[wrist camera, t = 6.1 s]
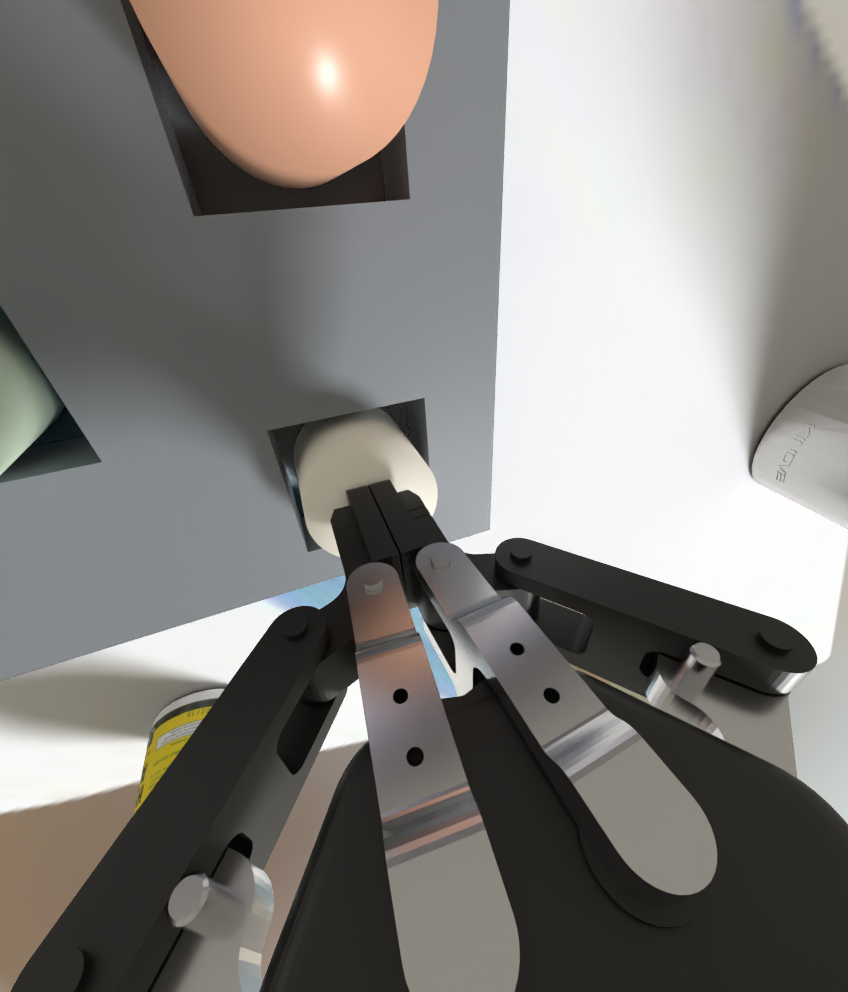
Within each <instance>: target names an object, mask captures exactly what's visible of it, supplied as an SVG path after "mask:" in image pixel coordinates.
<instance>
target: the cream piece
mask: <svg viewBox="0 0 848 992" xmlns="http://www.w3.org/2000/svg"><path fill="white" fill-rule="evenodd" d="M294 463H295V469H296V474H297V479H298V485H299V490H300V495H301V501H302V506H303V511H304V517H305V521H306V526H307V529H308V531H309V533H310V535H311V536H312V538H313V540H314V541H315V542H316V543H317V544H318V545H319V546H320V547H322V548H323V549H324V550H326V551H327V552H329V553H331V554H333V555H335V556H338V557H340V555H339V551H338V547H337V544H336V540H335V536H334V533H333V529H332V525H331V522H330V520H331V517H332V514H333V511H334V509H337V508H341V507H345V506H349V505H348V501H347V496H346V490H350V489H354V488H358V487H361V486H365V485H367V486H368V485H369V484H373V483H377V482H380V481H384V480H388V479H390V481H391V482H392V484H393V486H394V488H395V490H396V491H397V492H400V491H404V490H410V491H412V492H413V493H415V494H417V495H418V496H419V497H420V498H421V500H422V501H423V503H424V505H425V507H426V508H427V509H428V511H429V512H430V515H431V516H433V514H434V511H435V508H436V505H437V498H438V490H437V483H436V480H435V477H434V475H433V473H432V471H431V470H430V468H429V467H428V465H427V464H426V463H425V461H424V460H423V459H422V457H421V456H420V455H419V453H418V452H417V451H416V449H415V448H414V446H413V445H412V444H411V442H410V441H409V440H408V438H407V437H406V436H405V434H404V433H403V432H402V430H401V429H400V428H399V426H398V425H397V424H396V422H395V421H394V420H393V418H392V417H391V416H390V415H389V414H387V413H386V412H385V411H383V410H382V409H380V408H374V409H369V410H364V411H359V412H354V413H350V414H345V415H340V416H335V417H331V418H326V419H321V420H316V421H312V422H307V423H306V424H305V425H304V426H303V428H302V429H301V431H300V433H299V435H298V437H297V440H296V443H295V447H294Z"/></svg>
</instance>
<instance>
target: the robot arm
mask: <svg viewBox="0 0 848 992" xmlns="http://www.w3.org/2000/svg"><path fill="white" fill-rule="evenodd" d="M752 475H753V478H754V480H755V481H756V482H757V483H759V484H761V485H763V486H764V487H766V488H768V489H770V490H772V491H774V492H776V493H778V494H780V495H782V496H784V497H786V498H788V499H790V500H792V501H794V502H796V503H798V504H800V505H802V506H804V507H806V508H808V509H810V510H812V511H814V512H815V513H817V514H819V515H821V516H823V517H825V518H827V519H829V520H831V521H833V522H835V523H837V524H839V525H841V526H843V527H845V528H847V529H848V364H846V365H842V366H838V367H836V368H834V369H831V370H829V371H827V372H825V373H824V374H822V375H821V376H819V377H818V378H816V379H815V380H813V381H812V382H811V383H810V384H808V385H807V386H806V387H805V388H804V389H802V390H801V391H800V392H799V393H798V394H797V395H796V396H795V397H794V398H793V399H792V400H791V401H790V402H789V403H788V404H787V405H786V406H785V408H784V409H783V410H782V411H781V412H780V413H779V415H778V416H777V417H776V418H775V420H774V421H773V423H772V424H771V425H770V427H769V428H768V430H767V431H766V433H765V435H764V437H763V438H762V440H761V442H760V444H759V446H758V448H757V451H756V453H755V455H754V459H753V464H752ZM346 496H347V501H348V505H349V506H345V507H341V508H337V509H334V511H333V514H332V517H331V520H330V522H331V525H332V529H333V533H334V536H335V540H336V544H337V547H338V551H339V555H340V558H341V562H342V565H343V569H344V573H345V576H346V582H345V586H344V588H343V590H342V592H341V593H340V594H339V596H338V597H337V598H336V599H335V600H333V601H332V602H331V603H329V604H328V605H326V606H325V607H323V608H321V609H320V610H319V609H317V608H314V607H311V606H299V607H295V608H292V609H290V610H287V611H286V612H284V613H282V614H281V615H280V616H279V617H277V618H276V619H275V620H274V622H273V623H272V624H271V626H270V627H269V628H268V630H267V631H266V633H265V634H264V635H263V637H262V638H261V639H260V641H259V642H258V644H257V645H256V646H255V648H254V649H253V651H252V652H251V653H250V655H249V656H248V657H247V659H246V660H245V662H244V663H243V664H242V666H241V667H240V669H239V670H238V671H237V673H236V674H235V675H234V677H233V678H232V680H231V681H230V682H229V684H228V685H227V687H226V688H225V689H224V691H223V692H222V694H221V695H220V696H219V698H218V699H217V700H216V702H215V703H214V705H213V706H212V707H211V709H210V710H209V712H208V713H207V714H206V716H205V717H204V718H203V720H202V721H201V723H200V724H199V725H198V727H197V728H196V730H195V731H194V732H193V734H192V735H191V736H190V738H189V739H188V741H187V742H186V743H185V745H184V746H183V748H182V749H181V750H180V752H179V753H178V754H177V756H176V757H175V759H174V760H173V761H172V763H171V764H170V766H169V767H168V768H167V770H166V771H165V773H164V774H163V775H162V777H161V778H160V779H159V781H158V782H157V784H156V785H155V786H154V788H153V789H152V791H151V792H150V793H149V795H148V796H147V797H146V799H145V800H144V802H143V803H142V804H141V806H140V807H139V809H138V810H137V811H136V813H135V814H134V816H133V817H132V818H131V820H130V821H129V823H128V824H127V825H126V827H125V828H124V829H123V831H122V832H121V834H120V835H119V836H118V838H117V839H116V840H115V842H114V843H113V845H112V846H111V847H110V849H109V850H108V852H107V853H106V854H105V856H104V857H103V858H102V860H101V861H100V863H99V864H98V865H97V867H96V868H95V870H94V871H93V872H92V874H91V875H90V876H89V878H88V879H87V881H86V882H85V883H84V885H83V886H82V888H81V889H80V890H79V892H78V893H77V895H76V896H75V897H74V899H73V900H72V902H71V903H70V904H69V906H68V907H67V908H66V910H65V911H64V913H63V914H62V915H61V917H60V918H59V919H58V921H57V922H56V924H55V925H54V927H53V928H52V929H51V931H50V932H49V933H48V935H47V936H46V938H45V939H44V940H43V942H42V943H41V945H40V946H39V947H38V949H37V950H36V952H35V953H34V954H33V955H32V957H31V958H30V960H29V961H28V963H27V964H26V966H25V967H24V969H23V970H22V972H21V974H20V975H19V977H18V979H17V981H16V983H15V984H14V986H13V988H12V990H11V992H848V824H847V823H846V822H845V821H844V819H843V818H842V817H841V816H840V815H839V814H838V813H837V812H836V811H835V810H834V809H833V808H832V807H831V806H830V805H829V804H828V803H827V802H826V801H825V800H824V799H823V798H822V797H821V796H819V795H818V794H817V793H816V792H815V791H814V790H812V789H811V788H810V787H808V786H807V785H806V784H804V783H803V782H802V781H801V780H799V779H798V778H797V773H796V764H795V755H794V746H793V737H792V729H791V720H790V712H789V702H788V695H789V694H790V693H791V691H792V690H793V689H794V688H795V687H796V686H797V685H798V684H799V683H800V682H801V681H802V680H803V679H804V678H805V677H806V676H807V675H808V674H809V673H810V672H811V670H812V669H813V668H814V667H815V666H816V664H817V655H816V652H815V650H814V648H813V647H812V645H811V644H810V642H809V641H808V640H807V639H806V638H805V637H804V636H803V635H802V634H801V633H799V632H798V631H797V630H795V629H794V628H792V627H791V626H789V625H788V624H786V623H784V622H782V621H780V620H777V619H775V618H772V617H769V616H766V615H763V614H759V613H756V612H753V611H750V610H747V609H744V608H741V607H738V606H735V605H731V604H728V603H725V602H722V601H719V600H716V599H713V598H710V597H706V596H703V595H700V594H697V593H694V592H691V591H688V590H685V589H682V588H678V587H675V586H672V585H669V584H666V583H663V582H660V581H657V580H653V579H650V578H647V577H644V576H641V575H638V574H635V573H632V572H629V571H625V570H622V569H619V568H616V567H613V566H610V565H607V564H604V563H601V562H597V561H594V560H591V559H588V558H585V557H582V556H579V555H576V554H572V553H569V552H566V551H563V550H560V549H557V548H554V547H551V546H548V545H544V544H541V543H538V542H535V541H532V540H529V539H524V538H512V539H508V540H505V541H504V542H502V543H501V544H499V546H498V547H497V549H496V552H495V554H467V553H464V552H463V551H462V550H461V549H460V548H459V547H458V546H456V545H454V544H451V543H449V542H448V541H447V539H446V538H445V536H444V534H443V533H442V531H441V530H440V528H439V527H438V525H437V523H436V522H435V520H434V519H433V517H432V516H431V515H430V512H429V511H428V509H427V508H426V507H425V505H424V503H423V501H422V500H421V498H420V497H419V496H418V495H417V494H415V493H413V492H412V491H410V490H404V491H400V492H397V491H396V490H395V488H394V486H393V484H392V482H391V481H390V479H388V480H384V481H380V482H377V483H373V484H369V485H368V486H367V485H365V486H361V487H358V488H354V489H350V490H346ZM541 597H542V598H545V599H548V600H550V601H553V602H555V603H558V604H561V605H563V606H566V607H568V608H571V609H574V610H576V611H579V612H581V613H583V614H585V615H587V616H585V615H582V614H579V613H577V612H574V611H572V610H569V609H566V608H564V607H561V606H559V605H556V604H553V603H551V602H548V601H546V600H543V599H541ZM417 606H418V608H419V610H420V612H421V614H422V621H423V627H424V629H425V631H426V633H427V635H428V637H429V639H430V641H431V642H432V644H433V646H434V648H435V650H436V652H437V654H438V655H439V657H440V659H441V661H442V663H443V665H444V666H445V668H446V670H447V672H448V674H449V676H450V677H451V679H452V681H453V684H454V686H455V689H456V692H457V696H458V697H452V698H444V699H441V698H440V695H439V692H438V688H437V685H436V682H435V679H434V676H433V673H432V670H431V667H430V664H429V661H428V658H427V654H426V651H425V648H424V645H423V642H422V639H421V637H420V635H419V633H417V632H416V629H415V626H414V623H413V620H412V617H411V614H410V611H409V609H411V608H414V607H417ZM408 607H409V608H408ZM569 663H570V664H572V665H574V666H576V667H579V668H581V669H583V670H585V671H588V672H590V673H592V674H594V675H596V676H599V677H601V678H603V679H605V680H608V681H610V682H612V683H614V684H617V685H619V686H621V687H623V688H625V689H628V690H630V691H632V692H634V693H637V694H639V695H641V696H643V697H646V698H648V700H649V703H650V704H651V705H650V704H648V703H646V702H644V701H642V700H640V699H638V698H636V697H634V696H632V695H630V694H627V693H625V692H623V691H621V690H619V689H617V688H615V687H613V686H611V685H609V684H607V683H605V682H603V681H601V680H599V679H597V678H595V677H592V676H590V675H588V674H586V673H583V672H581V671H578V670H575V669H573V668H572V666H571V665H570V664H569ZM357 679H359V682H360V688H361V695H362V701H363V707H364V714H365V720H366V726H367V733H368V739H369V740H368V741H367V742H366V743H365V744H364V745H363V746H362V747H361V749H360V750H359V751H358V752H357V753H356V755H355V756H354V757H353V759H352V760H351V761H350V763H349V764H348V766H347V768H346V769H345V771H344V773H343V775H342V777H341V779H340V781H339V783H338V785H337V788H336V790H335V793H334V795H333V798H332V800H331V803H330V806H329V808H328V811H327V814H326V817H325V819H324V822H323V824H322V827H321V829H320V832H319V835H318V837H317V840H316V843H315V845H314V848H313V851H312V853H311V856H310V859H309V861H308V864H307V867H306V869H305V872H304V875H303V877H302V880H301V882H300V885H299V888H298V890H297V893H296V895H295V898H294V901H293V903H292V906H291V909H290V912H289V914H288V917H287V919H286V922H285V924H284V927H283V930H282V932H281V935H280V938H279V940H278V943H277V946H276V948H275V951H274V953H273V956H272V959H271V961H270V964H269V967H268V969H267V972H266V974H265V977H264V980H263V982H262V981H261V959H262V952H263V947H264V942H265V940H266V936H267V933H268V930H269V927H270V924H271V920H272V915H273V907H274V894H273V888H272V885H271V882H270V880H269V878H268V876H267V874H266V873H265V872H264V871H263V870H264V868H265V865H266V863H267V861H268V859H269V857H270V855H271V853H272V851H273V849H274V846H275V844H276V842H277V840H278V838H279V836H280V833H281V832H282V829H283V827H284V825H285V823H286V821H287V819H288V817H289V814H290V812H291V810H292V808H293V806H294V804H295V802H296V800H297V797H298V795H299V793H300V791H301V789H302V787H303V785H304V782H305V780H306V778H307V776H308V774H309V772H310V770H311V768H312V766H313V763H314V761H315V759H316V757H317V755H318V753H319V751H320V749H321V746H322V744H323V742H324V740H325V738H326V736H327V734H328V732H329V729H330V727H331V725H332V723H333V721H334V719H335V717H336V715H337V712H338V710H339V708H340V706H341V704H342V702H343V700H344V697H345V695H346V692H347V687H348V686H350V685H351V684H352V683H353V682H355V681H356V680H357Z"/></svg>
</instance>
